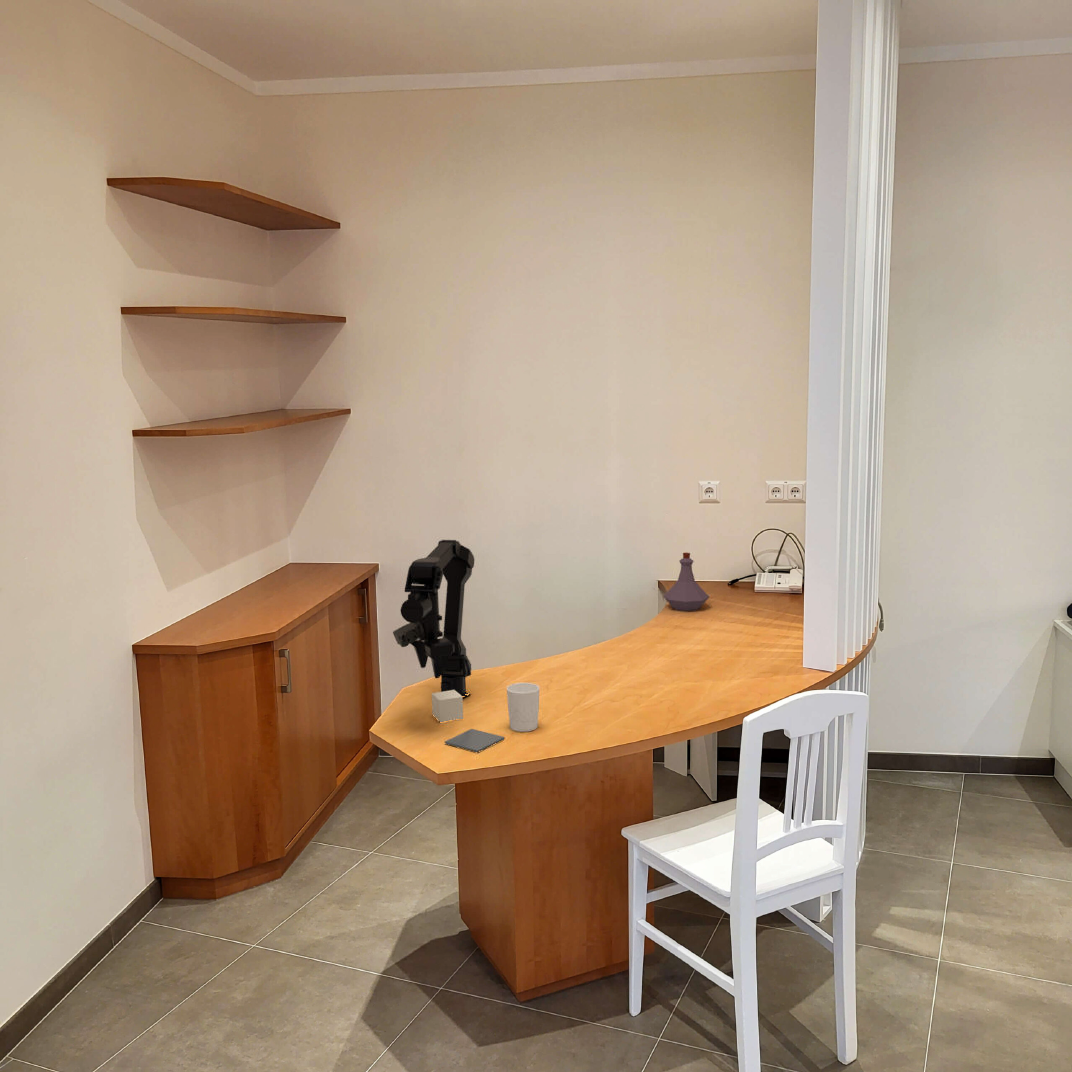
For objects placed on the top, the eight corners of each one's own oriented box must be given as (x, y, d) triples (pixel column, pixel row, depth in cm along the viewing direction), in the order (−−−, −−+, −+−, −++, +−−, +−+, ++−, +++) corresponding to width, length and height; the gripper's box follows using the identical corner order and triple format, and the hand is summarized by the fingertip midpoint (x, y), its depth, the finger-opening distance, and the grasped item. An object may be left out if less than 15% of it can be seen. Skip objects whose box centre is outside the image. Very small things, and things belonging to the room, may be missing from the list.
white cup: (539, 720, 245) (538, 682, 243) (540, 732, 237) (540, 692, 235) (507, 721, 244) (506, 683, 243) (507, 733, 237) (506, 693, 235)
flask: (709, 614, 345) (709, 558, 341) (661, 613, 348) (661, 557, 344) (709, 603, 361) (710, 549, 357) (664, 602, 364) (664, 548, 360)
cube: (432, 716, 250) (431, 693, 249) (455, 712, 252) (454, 689, 251) (440, 723, 244) (439, 700, 243) (463, 719, 247) (462, 696, 246)
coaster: (471, 731, 239) (471, 728, 238) (504, 739, 233) (504, 737, 233) (444, 744, 231) (444, 741, 231) (477, 753, 225) (477, 750, 225)
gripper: (382, 608, 246) (386, 668, 249) (409, 625, 230) (413, 689, 233) (424, 601, 251) (427, 660, 254) (454, 618, 235) (456, 681, 238)
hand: (430, 672), depth 245 cm, fingers open, 9 cm apart
